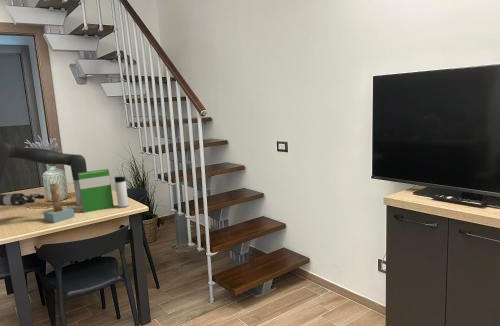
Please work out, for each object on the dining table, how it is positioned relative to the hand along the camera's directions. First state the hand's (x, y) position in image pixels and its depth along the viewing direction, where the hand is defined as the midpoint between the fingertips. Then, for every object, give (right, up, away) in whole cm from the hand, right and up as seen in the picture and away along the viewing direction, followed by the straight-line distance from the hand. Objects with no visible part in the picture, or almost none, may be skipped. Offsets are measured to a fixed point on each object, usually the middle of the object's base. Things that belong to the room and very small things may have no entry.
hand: (39, 198), depth 221 cm
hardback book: (+29, -8, +16) cm, 34 cm away
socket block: (+12, -12, +1) cm, 17 cm away
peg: (+12, -11, +1) cm, 16 cm away
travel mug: (+44, -7, +17) cm, 48 cm away
